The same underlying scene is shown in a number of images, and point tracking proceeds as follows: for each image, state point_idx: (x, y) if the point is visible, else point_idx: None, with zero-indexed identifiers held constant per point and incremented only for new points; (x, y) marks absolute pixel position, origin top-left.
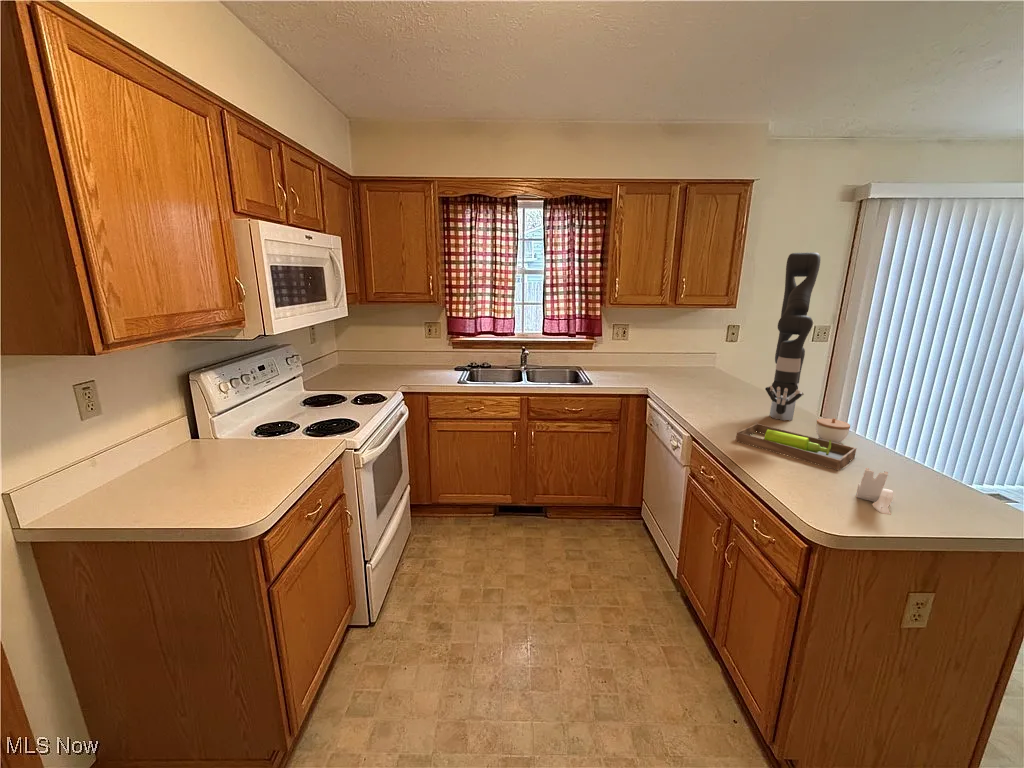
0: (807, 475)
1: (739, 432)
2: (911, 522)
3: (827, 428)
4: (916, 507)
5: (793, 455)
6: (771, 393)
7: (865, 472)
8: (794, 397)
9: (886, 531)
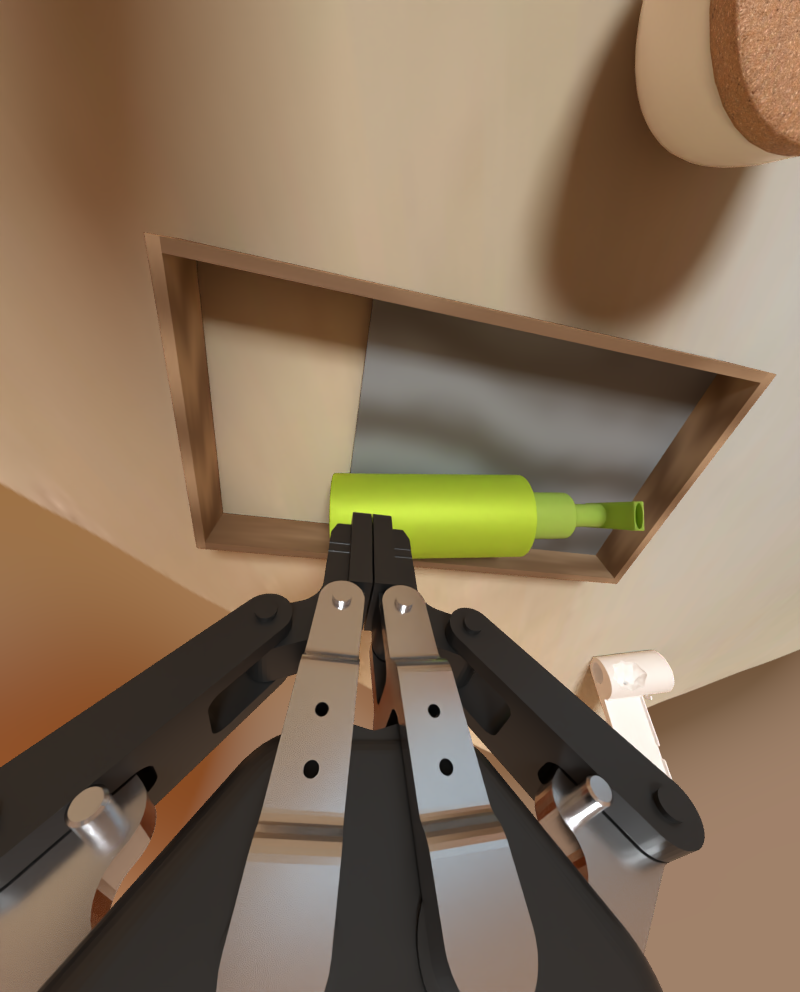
0: None
1: (204, 536)
2: None
3: (752, 151)
4: (701, 639)
5: None
6: (187, 772)
7: None
8: (526, 775)
9: None
